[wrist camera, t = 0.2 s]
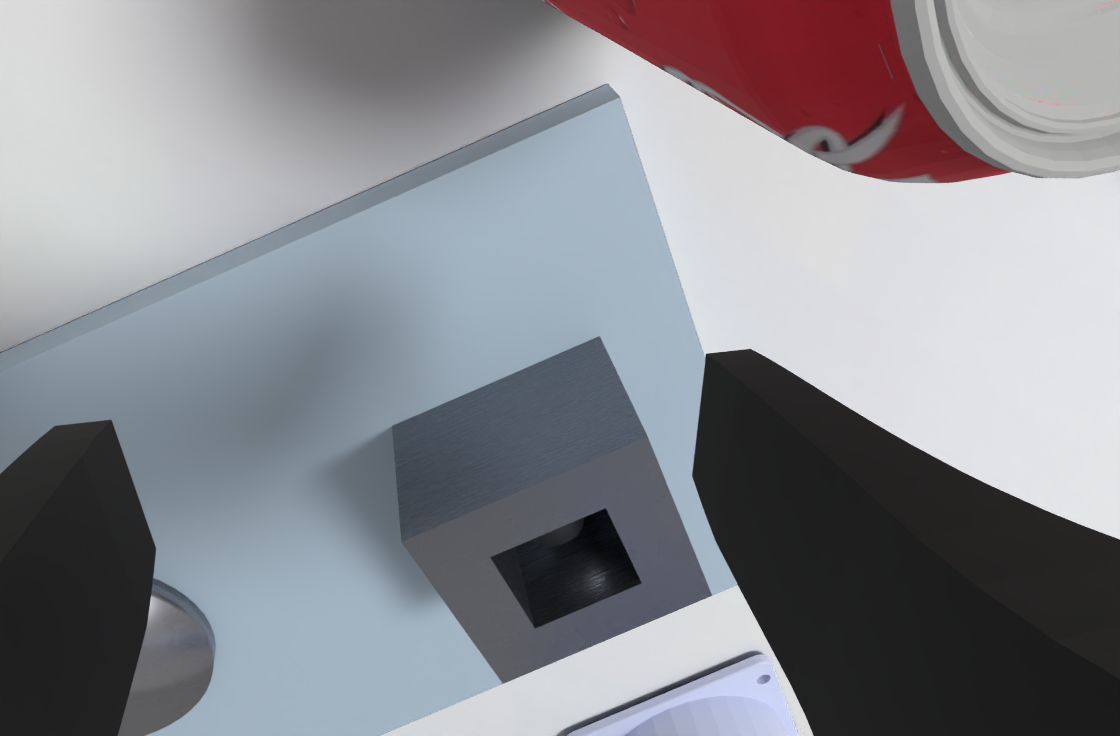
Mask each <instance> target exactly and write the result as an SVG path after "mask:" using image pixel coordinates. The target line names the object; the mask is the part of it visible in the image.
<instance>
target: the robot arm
mask: <svg viewBox="0 0 1120 736" xmlns="http://www.w3.org/2000/svg"><path fill="white" fill-rule="evenodd" d="M692 478H693V481H694V483H695V486H696V489H697V492H698V495H699V498H700V501H701V504H702V507H703V509H704V512H705V515H706V518H707V520H708V523H709V525H710V528H711V531H712V533H713V536H714V539H715V541H716V543H717V545H718V547H719V549H720V551H721V553H722V555H723V557H724V559H725V561H726V563H727V565H728V567H729V569H730V571H731V572H732V574H733V576H734V578H735V580H736V582H737V584H738V586H739V588H740V590H741V592H742V594H743V595H744V597H745V599H746V601H747V603H748V605H749V607H750V609H751V610H752V612H753V614H754V616H755V618H756V620H757V622H758V624H759V626H760V627H761V629H762V631H763V633H764V635H765V637H766V639H767V641H768V642H769V644H770V646H771V648H772V650H773V652H774V654H775V656H776V658H777V659H778V661H779V663H780V665H781V667H782V669H783V671H784V673H785V675H786V676H787V678H788V680H789V682H790V684H791V686H792V688H793V690H794V692H795V694H796V697H797V699H798V701H799V703H800V705H801V707H802V709H803V711H804V713H805V715H806V718H807V720H808V723H809V725H810V728H811V730H812V732H813V735H814V736H1120V540H1119V539H1117V538H1114V537H1111V536H1109V535H1106V534H1103V533H1101V532H1098V531H1095V530H1093V529H1090V528H1087V527H1085V526H1082V525H1079V524H1077V523H1075V522H1072V521H1070V520H1067V519H1065V518H1062V517H1060V516H1057V515H1055V514H1052V513H1050V512H1048V511H1045V510H1043V509H1041V508H1039V507H1036V506H1034V505H1032V504H1030V503H1028V502H1025V501H1023V500H1021V499H1019V498H1016V497H1014V496H1012V495H1010V494H1008V493H1005V492H1003V491H1001V490H999V489H996V488H994V487H992V486H990V485H988V484H986V483H984V482H982V481H980V480H978V479H975V478H973V477H971V476H969V475H967V474H965V473H963V472H961V471H959V470H957V469H956V468H954V467H952V466H950V465H948V464H946V463H944V462H942V461H941V460H939V459H937V458H935V457H933V456H931V455H929V454H927V453H926V452H924V451H922V450H920V449H918V448H916V447H914V446H913V445H911V444H909V443H907V442H906V441H904V440H902V439H900V438H899V437H897V436H895V435H893V434H891V433H890V432H888V431H886V430H885V429H883V428H881V427H879V426H878V425H876V424H874V423H873V422H871V421H869V420H868V419H866V418H864V417H863V416H861V415H859V414H858V413H856V412H854V411H853V410H851V409H849V408H848V407H846V406H845V405H843V404H841V403H840V402H838V401H836V400H835V399H833V398H832V397H830V396H828V395H827V394H825V393H824V392H822V391H820V390H819V389H817V388H816V387H814V386H812V385H811V384H809V383H808V382H806V381H804V380H803V379H801V378H800V377H798V376H796V375H795V374H793V373H791V372H790V371H788V370H787V369H785V368H783V367H782V366H780V365H778V364H777V363H775V362H773V361H772V360H770V359H768V358H766V357H765V356H763V355H761V354H759V353H757V352H755V351H753V350H751V349H746V350H737V351H728V352H719V353H710V354H706V358H705V367H704V376H703V384H702V393H701V402H700V410H699V419H698V428H697V436H696V445H695V454H694V462H693V471H692ZM155 556H156V546H155V544H154V541H153V538H152V535H151V532H150V529H149V526H148V523H147V520H146V518H145V515H144V512H143V509H142V506H141V503H140V500H139V497H138V495H137V492H136V489H135V486H134V483H133V480H132V477H131V474H130V471H129V469H128V466H127V463H126V460H125V457H124V454H123V451H122V448H121V445H120V443H119V440H118V437H117V434H116V431H115V428H114V425H113V422H112V420H103V421H94V422H85V423H76V424H67V425H58V426H54V427H53V428H51V429H50V430H49V431H48V432H46V433H45V434H44V435H43V436H42V437H40V438H39V439H38V440H37V441H36V442H35V443H34V444H32V445H31V446H30V447H29V448H28V449H27V450H26V451H25V452H23V453H22V454H21V455H20V456H19V457H18V458H17V459H16V460H15V461H14V462H12V463H11V464H10V465H9V466H8V467H7V468H6V469H5V470H4V471H3V472H2V473H1V474H0V736H118V733H119V729H120V726H121V722H122V718H123V715H124V711H125V708H126V704H127V700H128V697H129V693H130V689H131V685H132V682H133V678H134V674H135V670H136V667H137V663H138V659H139V655H140V651H141V648H142V644H143V640H144V636H145V632H146V628H147V622H148V615H149V607H150V600H151V593H152V584H153V575H154V566H155ZM567 736H799V734H798V732H797V729H796V726H795V723H794V721H793V718H792V715H791V712H790V710H789V707H788V704H787V701H786V699H785V696H784V693H783V691H782V688H781V685H780V682H779V680H778V677H777V674H776V671H775V669H774V666H773V664H772V662H771V660H770V658H769V657H768V656H767V655H763V654H758V655H755V656H752V657H750V658H747V659H745V660H743V661H740V662H738V663H735V664H733V665H731V666H728V667H726V668H723V669H721V670H719V671H716V672H714V673H711V674H709V675H707V676H704V677H702V678H700V679H697V680H695V681H692V682H690V683H688V684H685V685H683V686H680V687H678V688H676V689H673V690H671V691H668V692H666V693H664V694H661V695H659V696H657V697H654V698H652V699H649V700H647V701H645V702H642V703H640V704H637V705H635V706H633V707H630V708H628V709H625V710H623V711H621V712H618V713H616V714H614V715H611V716H609V717H606V718H604V719H602V720H599V721H597V722H594V723H592V724H590V725H587V726H585V727H582V728H580V729H578V730H575V731H573V732H571V733H569V734H568V735H567Z"/></svg>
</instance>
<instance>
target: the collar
mask: <svg viewBox="0 0 1120 736" xmlns="http://www.w3.org/2000/svg"><path fill="white" fill-rule="evenodd" d="M392 433H393V446H394V458H395V470H396V483H397V495H398V507H399V520H400V532H401V542H402V544H403V545H404V547H405V548H406V549H407V551H408V552H409V554H410V555H411V556H412V558H413V559H414V561H415V562H416V563H417V565H418V566H419V567H420V569H421V570H422V572H423V573H424V574H425V576H426V577H427V579H428V580H429V581H430V583H431V584H432V586H433V587H434V588H435V590H436V591H437V593H438V594H439V595H440V597H441V598H442V600H443V601H444V602H445V604H446V605H447V607H448V608H449V609H450V611H451V612H452V614H453V615H454V616H455V618H456V619H457V621H458V622H459V623H460V625H461V626H462V628H463V629H464V630H465V632H466V633H467V635H468V636H469V637H470V639H471V640H472V641H473V643H474V644H475V646H476V647H477V648H478V650H479V651H480V653H481V654H482V655H483V657H484V658H485V660H486V661H487V662H488V664H489V665H490V667H491V668H492V669H493V671H494V672H495V674H496V675H497V676H498V678H499V679H500V681H501V682H502V683H506V682H508V681H511V680H513V679H515V678H518V677H520V676H522V675H525V674H527V673H530V672H532V671H534V670H537V669H539V668H541V667H544V666H546V665H549V664H551V663H553V662H556V661H558V660H560V659H563V658H565V657H567V656H570V655H572V654H575V653H577V652H579V651H582V650H584V649H586V648H589V647H591V646H594V645H596V644H598V643H601V642H603V641H605V640H608V639H610V638H613V637H615V636H617V635H620V634H622V633H624V632H627V631H629V630H632V629H634V628H636V627H639V626H641V625H643V624H646V623H648V622H651V621H653V620H655V619H658V618H660V617H662V616H665V615H667V614H670V613H672V612H674V611H677V610H679V609H681V608H684V607H686V606H688V605H691V604H693V603H696V602H698V601H700V600H703V599H705V598H707V597H710V596H712V594H711V591H710V589H709V586H708V584H707V581H706V579H705V576H704V574H703V571H702V569H701V566H700V564H699V562H698V559H697V557H696V554H695V552H694V549H693V547H692V544H691V542H690V539H689V537H688V534H687V532H686V530H685V527H684V525H683V522H682V520H681V517H680V515H679V512H678V510H677V507H676V505H675V502H674V500H673V497H672V495H671V493H670V490H669V488H668V485H667V483H666V480H665V478H664V475H663V473H662V470H661V468H660V465H659V463H658V460H657V458H656V456H655V453H654V451H653V448H652V446H651V443H650V441H649V438H648V436H647V434H646V432H645V430H644V428H643V425H642V423H641V421H640V419H639V417H638V415H637V413H636V411H635V409H634V407H633V404H632V402H631V400H630V398H629V396H628V394H627V392H626V390H625V388H624V386H623V384H622V381H621V379H620V377H619V375H618V373H617V371H616V369H615V367H614V365H613V363H612V361H611V358H610V356H609V354H608V352H607V350H606V348H605V346H604V344H603V342H602V340H601V337H600V336H598V337H596V338H594V339H591V340H589V341H587V342H584V343H582V344H580V345H577V346H575V347H573V348H571V349H568V350H566V351H564V352H561V353H559V354H557V355H554V356H552V357H550V358H547V359H545V360H543V361H541V362H538V363H536V364H534V365H531V366H529V367H527V368H524V369H522V370H520V371H518V372H515V373H513V374H511V375H508V376H506V377H504V378H501V379H499V380H497V381H494V382H492V383H490V384H488V385H485V386H483V387H481V388H478V389H476V390H474V391H471V392H469V393H467V394H464V395H462V396H460V397H458V398H455V399H453V400H451V401H448V402H446V403H444V404H441V405H439V406H437V407H434V408H432V409H430V410H428V411H425V412H423V413H421V414H418V415H416V416H414V417H411V418H409V419H407V420H405V421H402V422H400V423H398V424H395V425H393V426H392ZM583 517H584V524H583V527H582V529H581V531H580V532H579V533H578V535H577V536H575V537H574V538H573V539H572V540H570V541H568V542H566V543H564V544H561V545H556V546H543V545H539V544H537V543H535V542H533V541H532V539H534V538H537V537H539V536H541V535H544V534H546V533H548V532H551V531H553V530H555V529H558V528H560V527H562V526H565V525H567V524H569V523H572V522H574V521H576V520H579V519H581V518H583Z"/></svg>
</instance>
